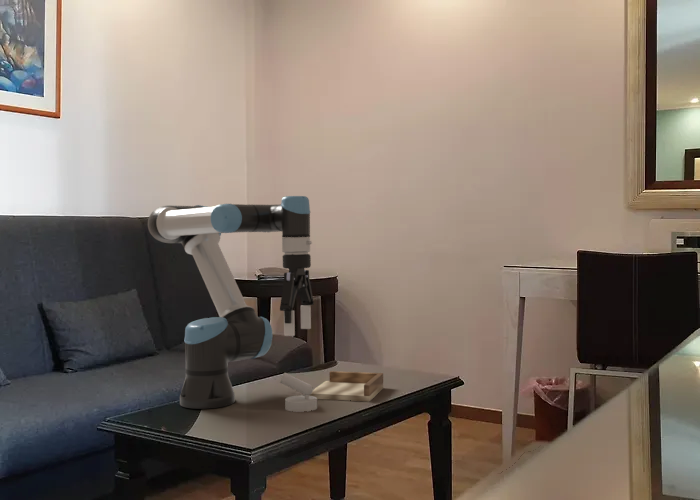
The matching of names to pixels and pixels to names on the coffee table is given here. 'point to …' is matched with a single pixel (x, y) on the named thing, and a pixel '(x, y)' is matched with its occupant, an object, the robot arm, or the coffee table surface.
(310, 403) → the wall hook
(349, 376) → the wooden corner jig board
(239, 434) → the coffee table surface
